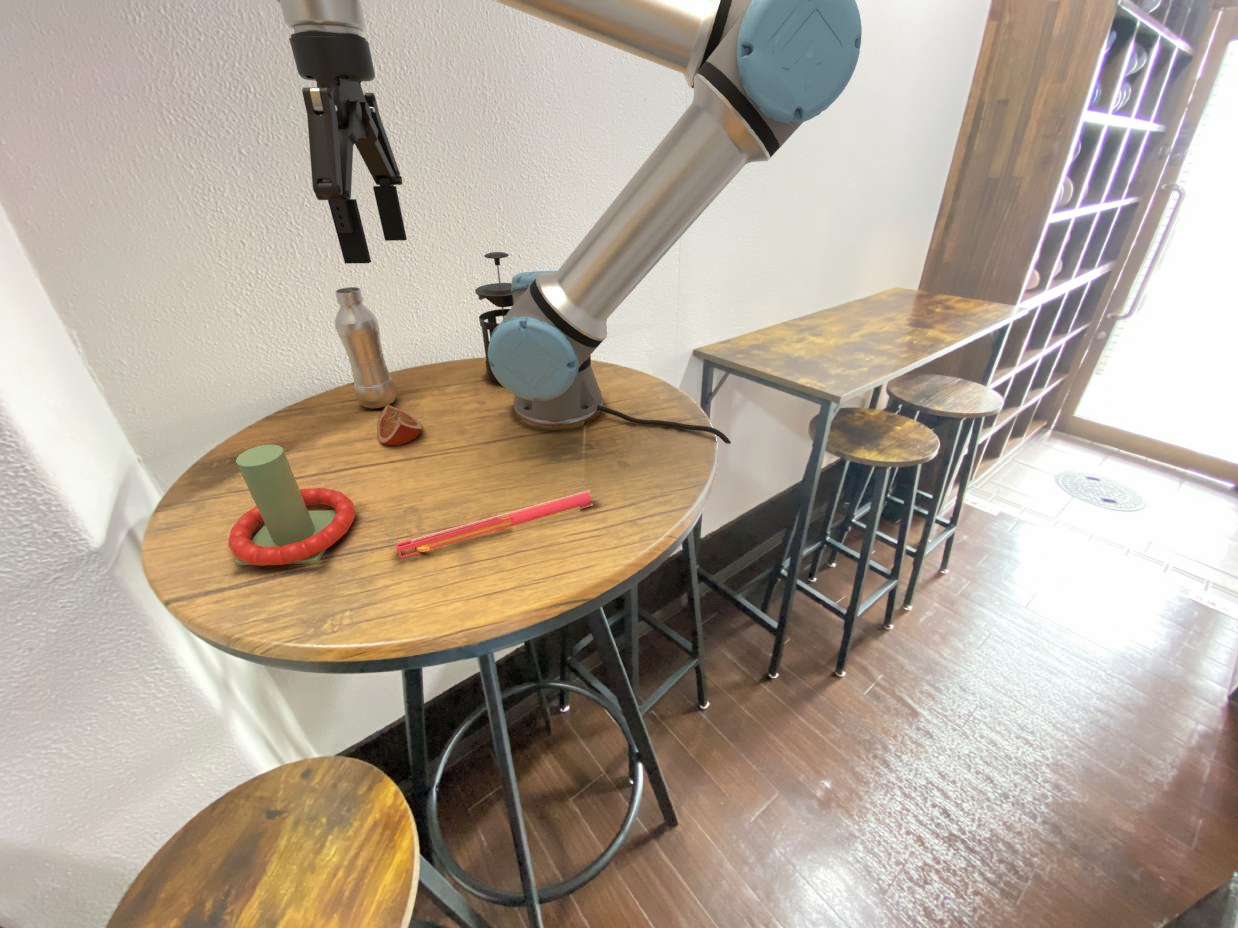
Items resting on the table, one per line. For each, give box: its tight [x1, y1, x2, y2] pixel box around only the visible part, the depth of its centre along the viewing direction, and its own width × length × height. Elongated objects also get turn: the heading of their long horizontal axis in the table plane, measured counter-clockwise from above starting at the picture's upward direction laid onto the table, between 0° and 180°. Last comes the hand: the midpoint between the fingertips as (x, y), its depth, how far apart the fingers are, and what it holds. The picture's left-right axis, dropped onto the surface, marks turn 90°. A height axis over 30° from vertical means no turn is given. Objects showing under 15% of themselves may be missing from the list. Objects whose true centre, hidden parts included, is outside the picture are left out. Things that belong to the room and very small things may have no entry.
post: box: [233, 444, 336, 566], centre depth 60 cm, size 9×9×12 cm
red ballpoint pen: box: [395, 489, 593, 559], centre depth 65 cm, size 24×2×5 cm
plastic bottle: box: [334, 286, 397, 409], centre depth 89 cm, size 6×7×20 cm
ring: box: [228, 487, 356, 567], centre depth 63 cm, size 13×13×2 cm
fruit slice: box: [376, 404, 424, 447], centre depth 83 cm, size 8×7×5 cm
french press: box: [474, 251, 514, 387], centre depth 99 cm, size 12×9×23 cm
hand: (378, 250), depth 67 cm, fingers open, 13 cm apart
